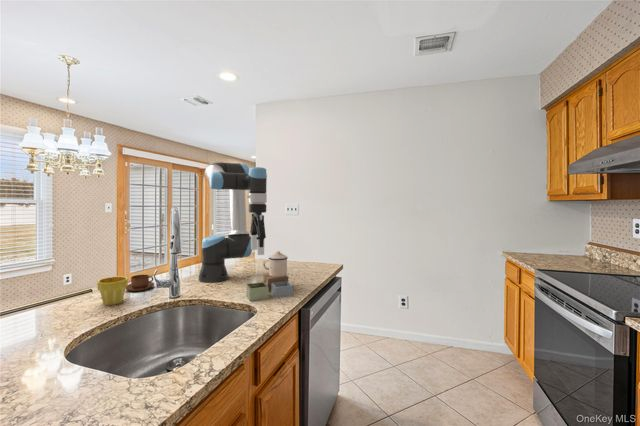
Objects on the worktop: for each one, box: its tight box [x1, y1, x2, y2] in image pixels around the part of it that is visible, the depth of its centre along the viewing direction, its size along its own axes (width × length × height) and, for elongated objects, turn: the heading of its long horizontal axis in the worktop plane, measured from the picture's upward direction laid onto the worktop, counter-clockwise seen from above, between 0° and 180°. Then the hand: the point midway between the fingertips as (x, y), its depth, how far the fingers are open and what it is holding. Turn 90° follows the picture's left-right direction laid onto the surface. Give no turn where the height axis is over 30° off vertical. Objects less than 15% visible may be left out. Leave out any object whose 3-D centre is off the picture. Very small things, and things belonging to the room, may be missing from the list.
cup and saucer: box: [125, 274, 155, 292], centre depth 143 cm, size 12×12×6 cm
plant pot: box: [96, 275, 129, 306], centre depth 124 cm, size 10×10×10 cm
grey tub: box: [270, 281, 294, 298], centre depth 136 cm, size 8×8×5 cm
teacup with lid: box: [262, 250, 288, 277], centre depth 145 cm, size 12×9×12 cm
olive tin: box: [246, 281, 269, 303], centre depth 131 cm, size 8×8×6 cm
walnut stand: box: [262, 272, 290, 293], centre depth 145 cm, size 10×10×7 cm
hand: (257, 252), depth 130 cm, fingers open, 13 cm apart
